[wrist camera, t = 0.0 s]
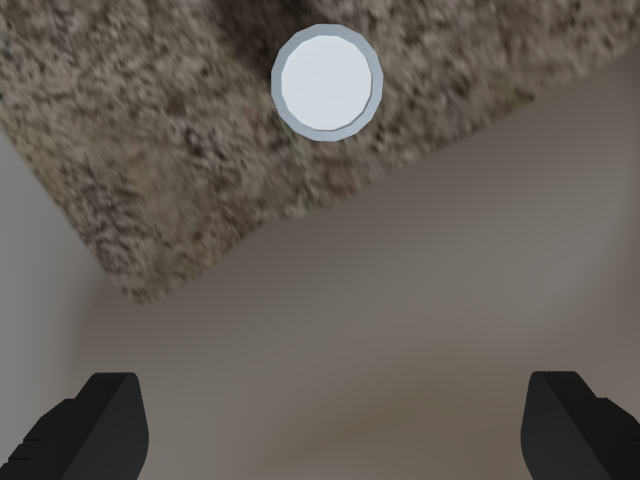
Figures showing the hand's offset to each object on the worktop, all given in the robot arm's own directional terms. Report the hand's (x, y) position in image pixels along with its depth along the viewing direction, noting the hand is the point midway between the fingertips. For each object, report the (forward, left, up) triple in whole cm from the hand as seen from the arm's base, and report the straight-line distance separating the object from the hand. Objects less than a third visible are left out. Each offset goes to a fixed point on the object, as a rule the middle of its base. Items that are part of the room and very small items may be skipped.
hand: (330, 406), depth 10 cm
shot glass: (-5, 0, -30) cm, 30 cm away
